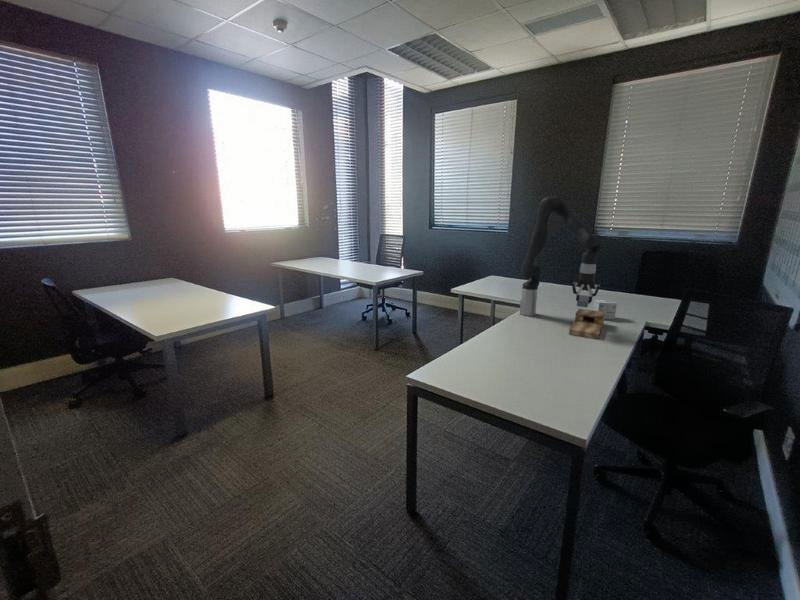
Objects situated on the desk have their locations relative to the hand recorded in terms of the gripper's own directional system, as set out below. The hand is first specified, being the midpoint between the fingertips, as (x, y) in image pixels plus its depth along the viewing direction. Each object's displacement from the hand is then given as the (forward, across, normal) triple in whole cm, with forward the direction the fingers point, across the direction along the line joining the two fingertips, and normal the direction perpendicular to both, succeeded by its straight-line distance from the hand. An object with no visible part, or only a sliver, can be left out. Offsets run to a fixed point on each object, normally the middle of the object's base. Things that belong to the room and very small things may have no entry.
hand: (583, 302), depth 199 cm
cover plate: (+1, 0, 0) cm, 1 cm away
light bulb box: (+17, +9, +34) cm, 39 cm away
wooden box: (+17, +3, +6) cm, 18 cm away
